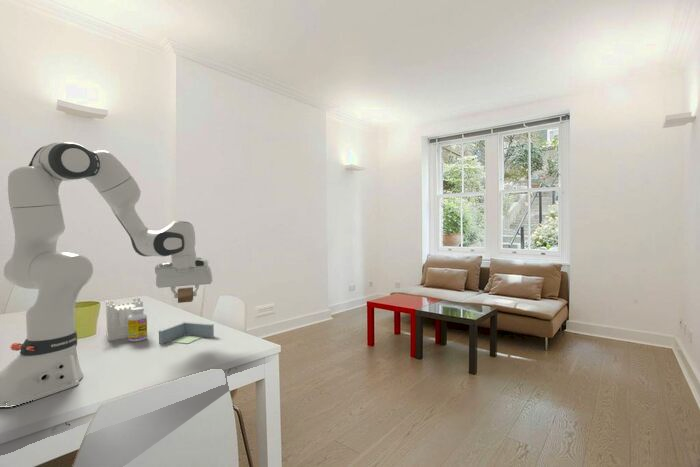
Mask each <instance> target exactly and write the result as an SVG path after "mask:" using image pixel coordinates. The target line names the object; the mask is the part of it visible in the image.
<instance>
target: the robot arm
mask: <svg viewBox="0 0 700 467" xmlns="http://www.w3.org/2000/svg"><path fill="white" fill-rule="evenodd" d="M7 178H8V179H7V193H8V194H7V196H8V197H7V198H8V204H9V207H10V214H11V218H12V223H13V229H14V247H13V251H12V254H11V257H10V258H9V260H8V261H7V262H6V263H5V265H4V268H3V275H4V278H5V279H6V280H7V282H9V283H10V284H11V285H14V286H17V287H20V288H24V289H27V290H31V289H33V290H38V293H37V297H36V300H35V302H34V304H33V306H31V307H30V308H28V309H27V311H26V314H25V323H26V324H25V325H26V326H25V327H26V329H25V330H26V338H25V340H24V342H23V343H19V342H13V343H11V345H10V347H9V349H10V350H12V351H16V352H18V351H19V354H18V355H17V356H16V357H15V358H14V359H13V360H11V361H10V363H8V364H7V365H6V366H5V367H4V368H3V369H1V371H0V406H6V405H7V406H11V405H18V404H22V403H25V404H27V403H26V402H28V403H30V402H29V401H31V402H33V401H37V400H38V399H42V398H44V397H47V396H50V395H53V394H56V393H59V392H62V391H64V390H68V389H70V388H73V387H75V386H78V385H79V383H80V380H81V379H82V378H83V377H84V372H83V371H82V369H81V365H80V363H79V362H80V361H79V357H78V352H77V345H78V333H77V330H76V325H75V324H76V321H75V319H76V318H75V317H76V316H75V315H76V314H75V313H76V312H75V310H76V304H77V300H78V297H79V294H80V292H81V290H82V288H83V287H84V286H85V285H86V284H88V283H89V282H90V280H91V278H92V276H93V273H94V266H93V263H92V261H91V260H90V259H89V258H88V257H87V256H84V255H81V254H78V253H74V252H69V251H67V252H63V251H62V252H61V251H60V252H59V251H58V252H57V243H58V239H59V237H60V236H61V235H63V233H64V232H65V229H66V226H65V221H64V220H65V219H64V216H63V215H64V214H63V211H62V210H63V209H62V204H61V200H60V196H59V189H60V188H59V187H60V185H61V183H62V182H63V181H67V182H68V181H69V182H70V181H74V180H81V179H85V180H87V181H88V182H89V183H91V184H92V185H93V187H94V188H95V189H96V191H97V192H98V194H100V195H101V197H102V198H103V199H104V201H105V202H106V203H107V205H108V206H109V207H110V209H111V211H112V212H113V215H114V216H115V217H116V219H117V220H118V222H119V223H120V224H121V226H122V227H123V228H124V230H125V231H126V233H127V235H128V236H129V238H130V241H131V245H132V248H133V251H135V253H136V254H137V255H139V256H142V257H169V256H171V262H167V263H161V262H160V263H159V264H157V265H156V266H155V267H154V272H155V273H154V274H155V275H156V277H155V286H156V287H157V288H158V289H160V288H170V291H171V292H172V293H173V295H174V299H178V292H177V290H176V288H177V287H191V286H194V288H195V289H194V290H193V292H192V294H193V295H192V297H193V298H194V297H197V295H198V294H197V292H198V290H199V288H200V285H201V286H202V285H210V284H212V283H213V274H212V269H211V267H210V265H209V260H208V259H207V258H203V257H198V256H197V253H196V252H197V251H196V248H195V247H196V233H195V232H196V231H195V227H194V225H193V224H192V223H191V222H188V221H182V220H174V221H171V223H170V224H169V225H167V226H166V227H164V228H162V229H159V230H152V229H150V228H149V227H147V226H146V225H145V223H144V222H143V220H142V219H141V217H140V215H139V214H138V213H137V211H136V208H135V207H136V204H137V203H138V202H139V200H140V199H141V198H140V197H141V195H142V194H141V193H142V192H141V189H140V187H139V184H138V183H137V181H136V180H135V178H134V177H133V176H132V174H131V173H130V171H129V170H128V169H127V168H126V166H124V164H122V163H121V161H120V160H119V159H117V158H116V156H114V154H113V153H111V152H109V151H106V150H97V151H92V150H90V149H88V148H86V147H84V146H83V145H81V144H78V143H76V142H69V141H64V142H63V141H62V142H52V143H50V144H47V145H45V146H42V147H40V148H38V149H37V150H36V151H35V153H34V154H33V157H32V158H31V161H30V162H29V163H28V165H27V166H20V167H18V168H15V169H13V170H11V171H10V173H9V174H8V177H7ZM32 400H33V401H32ZM6 403H7V404H6ZM22 405H23V404H22Z"/></svg>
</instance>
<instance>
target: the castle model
mask: <svg viewBox="0 0 700 467" xmlns="http://www.w3.org/2000/svg"><path fill="white" fill-rule="evenodd" d="M136 307H143V308H144V302H143V300H141V297H140V296H134V297H132V302H131V303H130V302H126V303H125V302H124V303H122V304H120V303H117V305H116V304H115V303H114V300H113V299H110V300H105V311H106V331H105V332H106V338H107V341H108V342H109V341H115V340H116V341H117V340H121V339H127V338H128V317H129V316H130V315H131V309H132V308H136Z"/></svg>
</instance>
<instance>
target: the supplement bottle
mask: <svg viewBox="0 0 700 467" xmlns="http://www.w3.org/2000/svg"><path fill="white" fill-rule="evenodd" d="M144 311H145V308H144V306H143V307H136V308H132V309H131V315H130V316H129V317H128V341H129V342H131V343H132V342H133V343H134V342H135V343H136V342H143V341H145V340H147V339H148V316H147V313H144Z"/></svg>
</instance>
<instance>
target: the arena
mask: <svg viewBox="0 0 700 467" xmlns="http://www.w3.org/2000/svg"><path fill="white" fill-rule="evenodd" d="M214 328H215V325H214V324H213V323H205V322H204V323H203V322H202V323H201V322H191V321H183V322H180V323H176V324H174V325H172V326H168V327H166V328H163V329H161V330H158V344H161V345H163V344H166V343H168V342H171V343H175V344H184V345H188V344H191V343H193V342H195V341H198V340H200V339H202V338H203V337H204V338H213V337H214V336H215V331H214ZM193 335H194V336H193Z"/></svg>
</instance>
